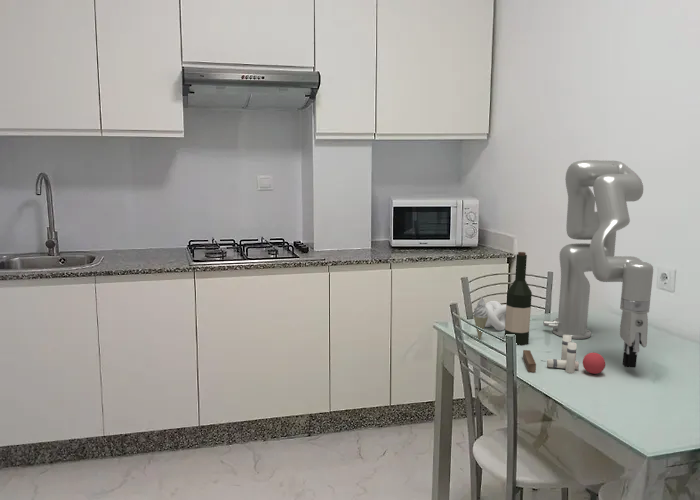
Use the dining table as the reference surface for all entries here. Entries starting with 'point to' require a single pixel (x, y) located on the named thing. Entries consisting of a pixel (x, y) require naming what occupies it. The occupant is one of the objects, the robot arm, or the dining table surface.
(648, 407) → the dining table surface
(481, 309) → the ice cream cone
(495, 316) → the white knot
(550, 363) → the front pin
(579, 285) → the robot arm
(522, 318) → the wine bottle
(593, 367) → the ball
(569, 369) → the back pin near
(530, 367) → the back wall
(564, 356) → the back pin far
